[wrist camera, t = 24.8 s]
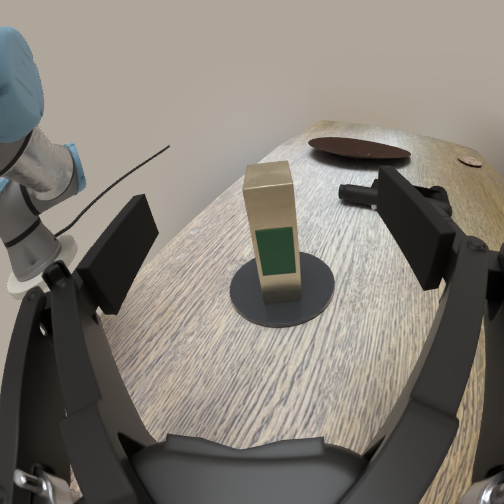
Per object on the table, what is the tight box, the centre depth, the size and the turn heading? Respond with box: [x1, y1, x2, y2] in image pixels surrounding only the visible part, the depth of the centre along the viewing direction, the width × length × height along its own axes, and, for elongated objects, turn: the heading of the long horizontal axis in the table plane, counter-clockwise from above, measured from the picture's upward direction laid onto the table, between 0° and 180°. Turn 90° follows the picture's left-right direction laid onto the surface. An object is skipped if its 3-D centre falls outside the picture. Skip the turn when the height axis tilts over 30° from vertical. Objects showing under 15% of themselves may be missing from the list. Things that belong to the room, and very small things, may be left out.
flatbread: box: [458, 156, 482, 166], centre depth 55 cm, size 8×8×1 cm
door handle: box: [339, 179, 452, 217], centre depth 43 cm, size 3×20×16 cm
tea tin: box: [242, 161, 302, 303], centre depth 27 cm, size 6×4×13 cm, turn 177°
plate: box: [308, 137, 411, 159], centre depth 64 cm, size 28×28×4 cm
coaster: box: [230, 252, 335, 327], centre depth 31 cm, size 12×12×1 cm
